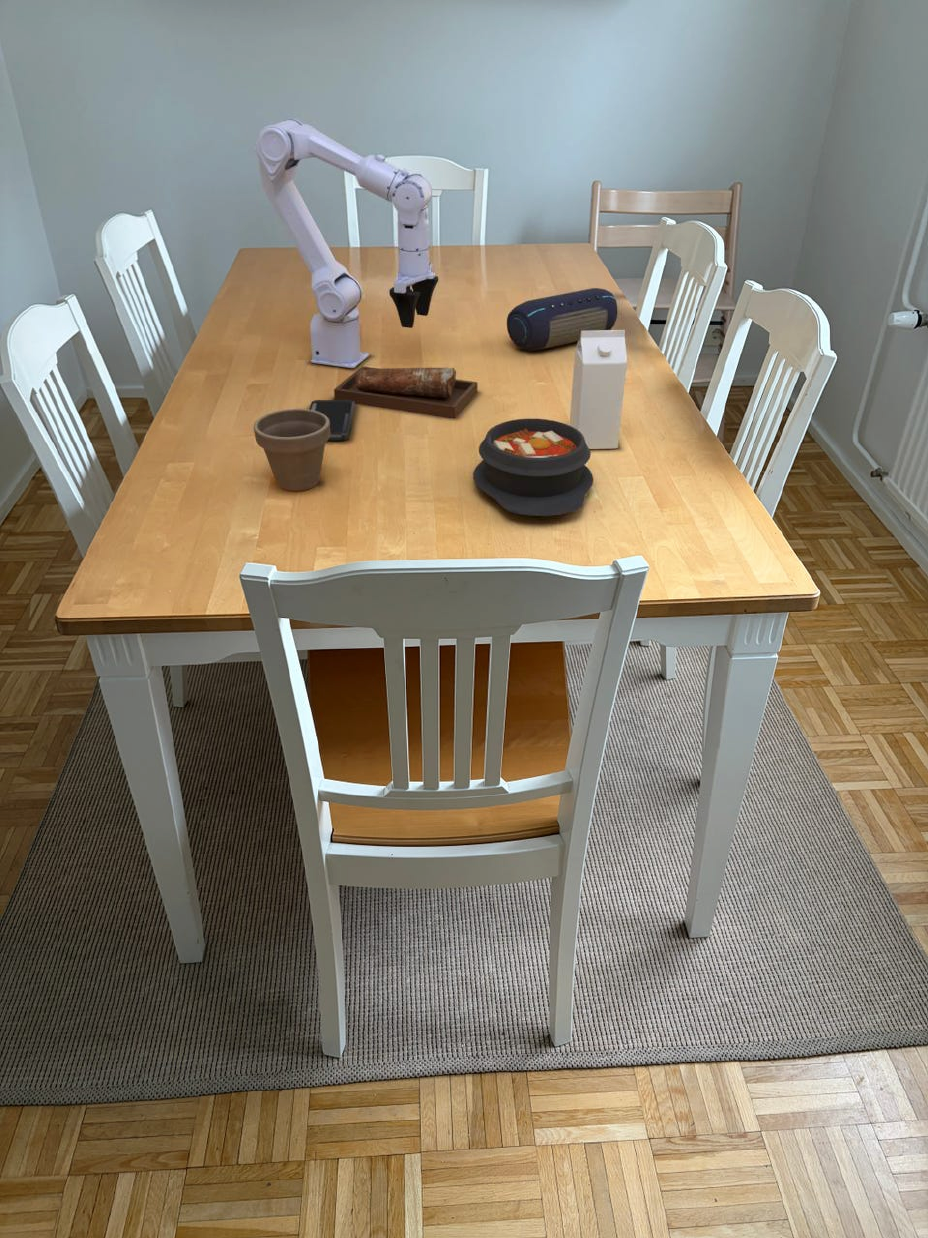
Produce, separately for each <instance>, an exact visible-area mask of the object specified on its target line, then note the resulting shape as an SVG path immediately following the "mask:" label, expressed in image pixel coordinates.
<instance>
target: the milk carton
mask: <svg viewBox="0 0 928 1238" xmlns="http://www.w3.org/2000/svg"><path fill="white" fill-rule="evenodd" d="M625 336H626V329H610V330H596V331H581V337H580V340H579V341H577V344H576V346H575V349H574V361H573V373H572V384H571V385H572V386H571V400H570V410H569V411H570V412H569V424H568V425H569V426H572V427H573V428H575V429H577V430H578V431H579V432H581V433H582V435H583V436H584V439H585V443H586V444H587V446H588V447H589V449H590V450H606V449H607V450H609V449H618V447H619V439H620V431H621V422H622V412H623V403H624V395H625V394H624V393H625V385H626V378H627V377H626V375H627V369H628V368H627V367H628V358H627V357H628V356H627V346H626V337H625Z"/></svg>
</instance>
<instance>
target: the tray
mask: <svg viewBox="0 0 928 1238" xmlns="http://www.w3.org/2000/svg"><path fill="white" fill-rule="evenodd" d="M368 369H379V368H378V367H370V366H364V365H363V366H361V367H359V368H357V370H356V371H354V372H353V373H352V374H351V375H350V376H348V377H347V378H346V379H345V380H344V381H343V382H341V383H340V384H338V385H337V386H336V387H335V388H334V389H333V397H334V400H352V401H354V402H355V404H356V405H365V406H370V407H371V406H372V407H378V408H383V409H390V410H397V411H398V410H399V411H405V412H409V413H410V412H411V413H417V414H423V415H430V416H437V417H444V418H451V419H456V418H457V417H458V416H459V415H460V413H461V412H462V411H463V410H464V408H466V406H467V405H468V404H469V403H470V402H471V401H472V399H473V398H474V397H475V396H476V395H477V394H478V381H471V380H464V379H458V378H456V381H455V385H454V387H453V390H452V395H451V397H447V398H435V397H426V396H416V395H404V394H391V393H382V392H374V391H364V390H359V389H358V388H357V387H356V376H357V374H358V372H359V371H361V370H368Z"/></svg>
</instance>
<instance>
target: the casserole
mask: <svg viewBox="0 0 928 1238" xmlns="http://www.w3.org/2000/svg"><path fill="white" fill-rule="evenodd" d="M478 454H479V456H480V458H481V459H482V460H481V461H480V463H478V464H477V466H475V468H474V470H473V472H472V477H473V478H472V479H473V481H474V483H475V485H476V486H477V487H478V488H479V489H480V490H481V491H482V492H484V493H485V494H486V495H488V496H490V497H491V498H493V499H494V500H495V501H496V502H497V503H498V504H499V505H500V506H501V507H502V508H503V509H504V510H505V511H508V512H510V513H513V514H517V515H522V516H531V517H549V516H560V515H565V514H570V513H572V512H575V511H578V510H580V509H581V508H582V507H583V506H584V503H585V498H586V495H587V494H588V493H589V491H590V489H591V488H592V487H593V485H594V475H593V473H592V471H591V470H590V468H589V467H587V466H586V464H587V463H588V462H589V460H590V459H591V455H592V453H591V449H589V447H588V446H587V444H586V443H585V439H584V436H583V435H582V433H581V432H579V431H578V430H577V429H575V428H573V427H572V426H569V424H568V423H564V422H561V421H557V420H552V419H545V418H517V419H511V420H506V421H504V422H501V423H498V424H496V425H494V426H493V427H491V428H490V429H489V430H488V431H487V433H486V435H485V437H484V439H483V441H481V443H480V444H479V447H478Z"/></svg>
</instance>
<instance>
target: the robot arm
mask: <svg viewBox="0 0 928 1238" xmlns="http://www.w3.org/2000/svg"><path fill="white" fill-rule="evenodd" d="M254 153H255V154H256V156H257V158H258V164H259V173H260V182H261V186H262V188H263V190H264V192H265V194H266V196H267V197H268V199H269V201H270V203H271V205H272V206H273V208H274V210H275V212H276V213H277V215H278V217H279V219H280V220H281V222H282V224H283V226H284V228H285V230H286V232H287V233H288V235H289V237H290V239H291V241H292V242H293V244H294V245H295V248H296V249H297V251H298V253H299V255H300V257H301V258H302V260H303V262H304V264H305V266H306V267H307V269H308V271H309V273H310V276H311V291H312V293H313V294H314V298H315V303H316V309H317V311H318V313H316V314H314V315H313V317H312V318H311V321H310V327H309V334H310V335H309V336H310V346H311V357H312V358H311V360H310V362H311V363H312V364H317V365H324V366H326V365H327V366H332V367H340V368H346V369H355V368H356V367H357V366H359V365H360V364H361V363H362V362H363V361H364V360H366V359H367V358H368V357H369V356H370V353H368V352H362V343H361V327H360V312H359V309H358V305H359V304H360V302H361V301H362V298H363V289H362V286H361V284H360V283H359V281H358V280H357V279H356V278H354V277H353V276H352V275H351V274H350V272H349V271H348V269H347V268H346V267H345V266H344V265H343V264H342V263H340V262H338V261H337V260H336V258H335V257H334V255H333V253H332V251H331V249H330V247H329V245H328V243H327V241H326V240H325V238H324V236H323V234H322V232H321V230H320V229H319V227H318V225H317V223H316V221H315V219H314V217H313V215H312V214H311V212H310V210H309V208H308V207H307V205H306V203H305V202H304V199H303V197H302V195H301V194H300V192H299V190H298V188H297V187H296V185H295V183H294V179H295V176H296V171H297V167H298V164H299V163H300V161H301V160H303V159H311V158H314V159H315V158H316V159H318V160H319V161H322V162H325V163H327V164H329V165H331V166H333V167H335V168H337V169H339V170H341V171H344V172H346V173H348V174H351V175H353V176H354V177H355V178H356V182H357V183H358V186H359V187H360V188H362V189H364V190H366V191H368V192H370V193H372V194H373V195H376V196H377V197H378V198H381V199H383V200H385V201H387V202H389V203H392V205H393V207H394V209H395V210H396V211H397V254H398V255H397V256H398V258H397V259H398V271H397V274H396V279H395V281H393V286H392V287H391V288H389V291H388V292H389V297H390V298H391V300H392V301H393V304H394V305H395V309H396V311H397V314H398V318H399V321H400V325H401V327H402V328H407V329H408V328H409V329H412V328H413V327H414V324H415V315H416V316H423V317H428V315H429V312H430V308H431V303H432V299H433V295H434V292H435V288H436V286H437V284H438V282H439V276H437V275H436V273H435V272H434V263H433V262H431V261H430V222H429V206H428V205H429V203H430V202H431V199H432V196H433V189H432V185H431V183H430V181H429V180H428V179H427V178H426V177H424V176H423V175H422V174H421V173H417V172H416V173H415V172H414V173H411V174H409V173H410V170H408V169H407V168H402V169H400V168H399V167H397V166H395V165H393V164H391V163H389V162H388V161H385V160H386V157H385V156H384V155H382V154H377V155H375V154H370V155H367V156H364V157H363V156H361V155H360V154H357V153H356V152H354V151H353V150H351V149H350V148H347V146H344V145H342V144H340V143H339V142H337V141H336V140H334V139H332V138H330V137H329V136H327V135H326V134H324V133H322V132H320V131H319V130H317V129H316V128H314V126H312V125H310V124H307V123H302V122H301V121H300V120H298V119H296V118H293V117H292V118H286V119H283V120H282V121H280V122H278V123H275V124H270V125H266V126H265V127H263V128H262V129H261V130H260V132H259V133H258V137H257V140H256V143H255V147H254Z"/></svg>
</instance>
